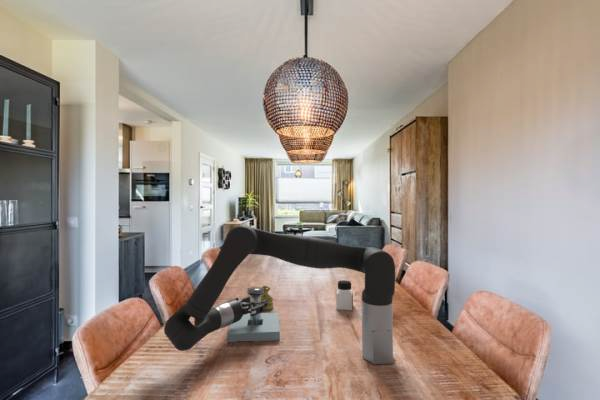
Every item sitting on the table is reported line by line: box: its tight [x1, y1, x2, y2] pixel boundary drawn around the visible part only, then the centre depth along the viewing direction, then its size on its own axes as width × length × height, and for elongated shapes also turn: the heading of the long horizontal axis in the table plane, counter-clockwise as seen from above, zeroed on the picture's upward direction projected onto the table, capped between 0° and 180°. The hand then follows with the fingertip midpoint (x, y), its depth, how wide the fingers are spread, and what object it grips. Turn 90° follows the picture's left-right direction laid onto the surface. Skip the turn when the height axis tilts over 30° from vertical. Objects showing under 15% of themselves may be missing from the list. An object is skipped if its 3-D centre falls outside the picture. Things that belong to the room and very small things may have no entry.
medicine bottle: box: [335, 279, 354, 311], centre depth 135 cm, size 7×7×12 cm
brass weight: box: [261, 285, 274, 312], centre depth 135 cm, size 7×7×10 cm
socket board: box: [226, 312, 281, 343], centre depth 112 cm, size 18×18×3 cm
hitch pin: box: [247, 286, 264, 326], centre depth 112 cm, size 6×6×16 cm
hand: (258, 300), depth 114 cm, fingers open, 8 cm apart
